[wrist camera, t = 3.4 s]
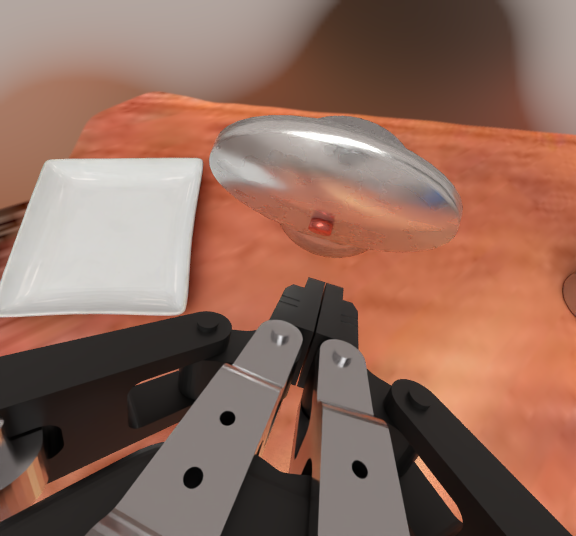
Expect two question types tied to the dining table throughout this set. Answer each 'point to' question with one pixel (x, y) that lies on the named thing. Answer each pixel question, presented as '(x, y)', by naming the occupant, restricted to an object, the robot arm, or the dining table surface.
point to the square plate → (105, 239)
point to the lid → (337, 183)
